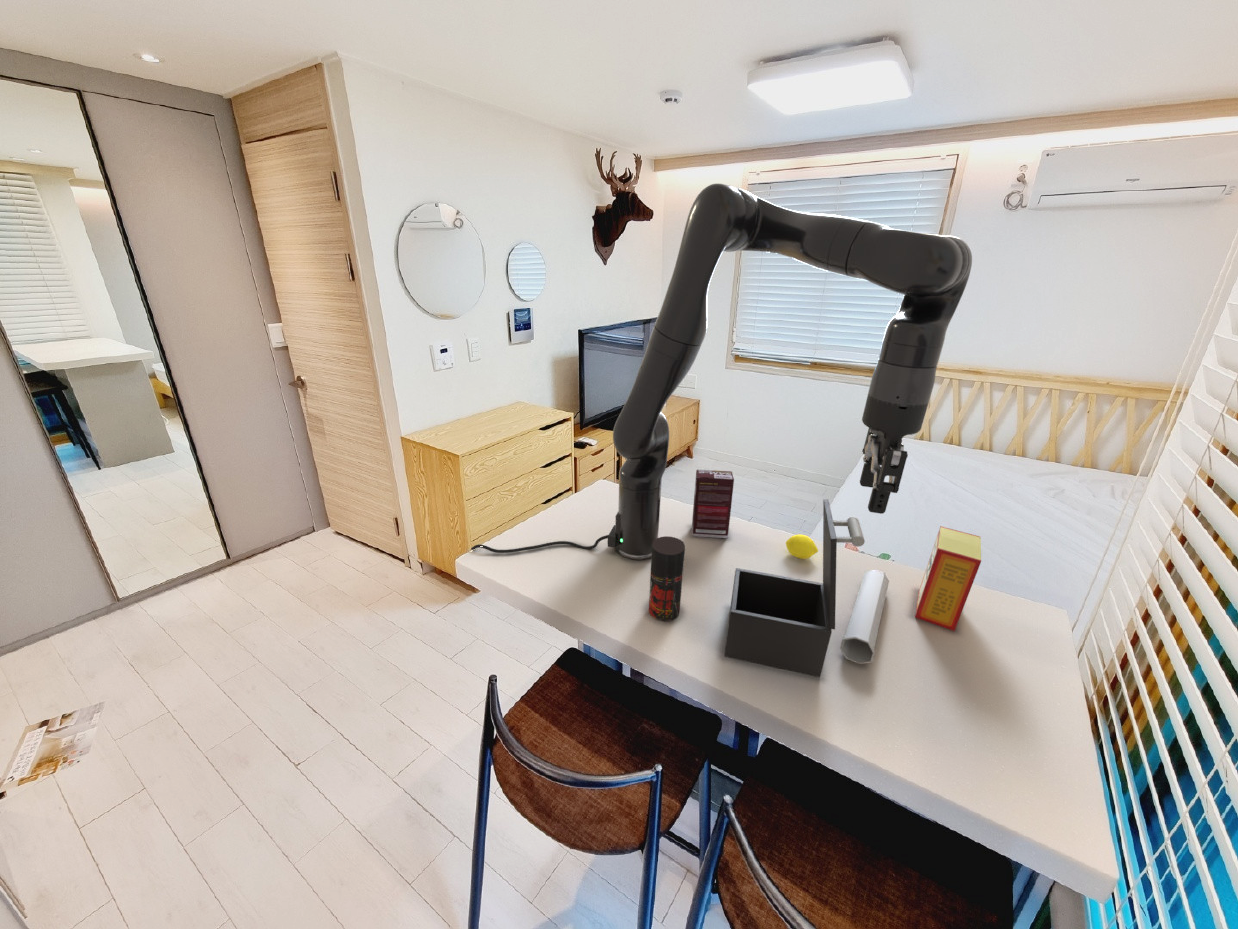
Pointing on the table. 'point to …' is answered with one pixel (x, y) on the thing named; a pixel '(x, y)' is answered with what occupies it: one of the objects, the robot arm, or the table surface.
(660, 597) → the deodorant
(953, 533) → the baking soda box
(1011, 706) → the table surface
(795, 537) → the lemon
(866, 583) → the tube
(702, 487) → the supplement box
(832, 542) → the lid
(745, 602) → the dark grey box
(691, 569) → the table surface
